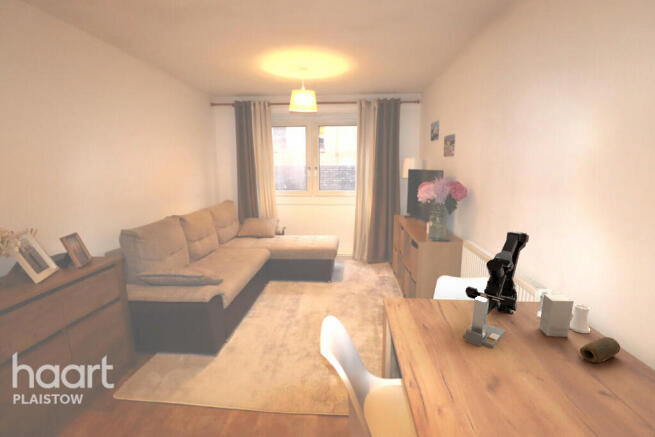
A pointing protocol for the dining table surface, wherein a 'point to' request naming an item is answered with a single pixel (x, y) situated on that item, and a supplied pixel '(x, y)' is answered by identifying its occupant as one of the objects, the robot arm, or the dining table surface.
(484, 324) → the bar
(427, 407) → the dining table surface
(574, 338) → the dining table surface
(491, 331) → the gauge board
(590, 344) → the brown hollow cylinder
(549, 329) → the skincare box
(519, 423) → the dining table surface
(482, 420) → the dining table surface
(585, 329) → the vase
